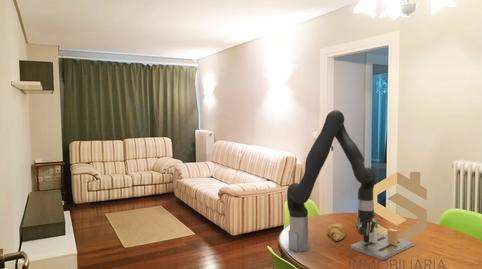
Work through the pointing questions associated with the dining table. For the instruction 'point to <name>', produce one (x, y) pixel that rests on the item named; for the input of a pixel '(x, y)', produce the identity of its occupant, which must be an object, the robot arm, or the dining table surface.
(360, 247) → the fader panel
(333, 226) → the croissant
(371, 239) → the cream fader
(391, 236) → the orange fader
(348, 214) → the dining table surface
